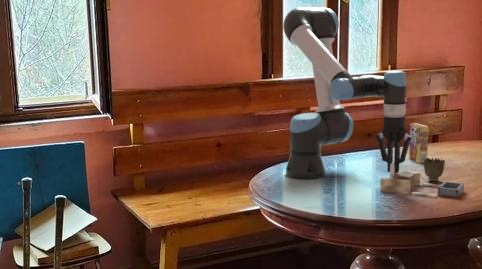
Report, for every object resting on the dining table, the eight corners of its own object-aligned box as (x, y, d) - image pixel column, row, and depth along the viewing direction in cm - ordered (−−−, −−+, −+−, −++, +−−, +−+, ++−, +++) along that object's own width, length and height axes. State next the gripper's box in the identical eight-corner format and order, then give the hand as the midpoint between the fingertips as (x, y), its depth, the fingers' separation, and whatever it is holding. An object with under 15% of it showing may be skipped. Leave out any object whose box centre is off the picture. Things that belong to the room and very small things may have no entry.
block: (392, 189, 220) (392, 175, 219) (397, 185, 225) (398, 171, 224) (409, 191, 217) (409, 177, 216) (414, 187, 222) (414, 173, 221)
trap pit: (437, 195, 211) (438, 187, 210) (444, 189, 218) (444, 181, 218) (457, 198, 208) (458, 189, 207) (463, 191, 215) (463, 183, 215)
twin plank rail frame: (380, 190, 218) (380, 178, 217) (392, 181, 230) (393, 169, 229) (435, 197, 208) (436, 184, 208) (445, 187, 220) (446, 175, 219)
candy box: (428, 162, 258) (429, 126, 255) (418, 163, 257) (419, 126, 254) (417, 158, 266) (418, 122, 263) (408, 158, 265) (409, 123, 262)
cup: (441, 184, 224) (441, 163, 223) (420, 182, 228) (421, 160, 226) (446, 180, 230) (447, 158, 229) (426, 177, 234) (427, 156, 233)
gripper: (372, 116, 218) (371, 181, 222) (409, 118, 211) (408, 185, 216) (379, 113, 224) (378, 176, 229) (416, 115, 218) (414, 180, 222)
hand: (393, 181), depth 222 cm, fingers closed
